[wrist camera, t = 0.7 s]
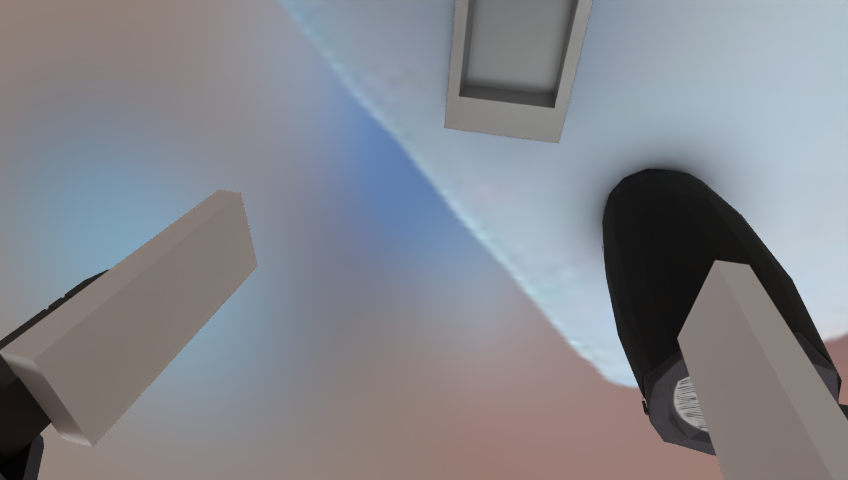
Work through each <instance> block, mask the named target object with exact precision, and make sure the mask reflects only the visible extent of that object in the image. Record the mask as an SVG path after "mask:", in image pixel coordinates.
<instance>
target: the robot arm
mask: <svg viewBox="0 0 848 480" xmlns="http://www.w3.org/2000/svg"><path fill="white" fill-rule="evenodd" d="M257 266H258V265H257V260H256V256H255V252H254V247H253V243H252V238H251V234H250V230H249V225H248V221H247V217H246V212H245V208H244V204H243V199H242V195H241V193H237V192H230V191H223V190H217V191H216V192H215V193H213V194H212V195H211V196H209V197H208V198H207V199H205V200H204V201H203V202H201V203H200V204H199V205H197V206H196V207H194V208H193V209H192V210H190V211H189V212H188V213H186V214H185V215H184V216H182V217H181V218H179V219H178V220H177V221H175V222H174V223H173V224H171V225H170V226H169V227H167V228H166V229H164V230H163V231H162V232H160V233H159V234H158V235H156V236H155V237H154V238H152V239H151V240H149V241H148V242H147V243H146V244H144V245H143V246H141V247H140V248H139V249H137V250H136V251H135V252H133V253H132V254H130V255H129V256H128V257H126V258H125V259H124V260H122V261H121V262H120V263H118V264H117V265H115V266H114V267H113V268H111V269H110V270H106V271H104V272H102V273H99V274H97V275H95V276H93V277H91V278H89V279H86V280H84V281H83V282H81V283H80V284H79V285H77V286H76V287H75V288H73V289H72V290H70V291H69V292H68V293H66V294H65V297H64V298H59V299H58V300H57V301H55V302H54V303H52V304H51V305H50V306H49V308H48V309H47V310H46V309H44V310H42V311H41V312H40V313H38V314H37V315H36V316H34V317H33V318H31V319H30V320H29V321H27V322H26V323H24V324H23V325H22V326H20V327H19V328H17V329H16V330H15V331H13V332H12V333H10V334H9V335H8V336H6V337H5V338H4V339H2V340H1V341H0V480H37V477H38V473H39V468H40V463H41V458H42V453H43V449H44V443H43V437H42V436H41V435H40V433H41V432H42V431H43V430H44V429H45V428H46V427H47V426H48V425H49V424H50V423H52V425H53V426H54V427H55V429H56V430H57V431H58V433H59V434H60V435H61V437H62V438H63V439H64V440H68V441H72V442H75V443H79V444H83V445H87V446H90V447H94V446H95V444H96V443H97V442H98V441H99V440H100V439H101V438H102V437H103V436H104V435H105V433H106V432H107V431H108V430H109V429H110V428H111V427H112V426H113V425H114V424H115V423H116V421H117V420H118V419H119V418H120V417H121V416H122V415H123V414H124V413H125V411H126V410H127V409H128V408H129V407H130V406H131V405H132V404H133V403H134V402H135V400H136V399H137V398H138V397H139V396H140V395H141V394H142V393H143V392H144V391H145V390H146V388H147V387H148V386H149V385H150V384H151V383H152V382H153V381H154V380H155V378H156V377H157V376H158V375H159V374H160V373H161V372H162V371H163V370H164V369H165V368H166V366H167V365H168V364H169V363H170V362H171V361H172V360H173V359H174V358H175V357H176V355H177V354H178V353H179V352H180V351H181V350H182V349H183V348H184V347H185V346H186V344H187V343H188V342H189V341H190V340H191V339H192V338H193V337H194V336H195V334H196V333H197V332H198V331H199V330H200V329H201V328H202V327H203V326H204V325H205V323H206V322H207V321H208V320H209V319H210V318H211V317H212V316H213V315H214V314H215V313H216V311H217V310H218V309H219V308H220V307H221V306H222V305H223V304H224V303H225V301H226V300H227V299H228V298H229V297H230V296H231V295H232V294H233V293H234V292H235V291H236V289H237V288H238V287H239V286H240V285H241V284H242V283H243V282H244V281H245V280H246V278H247V277H248V276H249V275H250V274H251V273H252V272H253V271H254V270H255V269H256V268H257ZM677 339H678V342H679V345H680V348H681V351H682V354H683V357H684V360H685V363H686V366H687V369H688V372H689V375H690V378H691V381H692V384H693V387H694V390H695V393H696V396H697V399H698V402H699V405H700V408H701V411H702V414H703V417H704V420H705V423H706V426H707V429H708V432H709V435H710V438H711V441H712V444H713V447H714V450H715V453H716V456H717V459H718V462H719V465H720V468H721V471H722V474H723V477H724V480H848V406H847V405H842V404H837V403H836V401H835V399H834V398H833V396H832V395H831V393H830V392H829V390H828V388H827V387H826V385H825V384H824V382H823V381H822V379H821V377H820V376H819V374H818V373H817V371H816V370H815V368H814V366H813V365H812V363H811V362H810V360H809V359H808V357H807V355H806V354H805V352H804V351H803V349H802V348H801V346H800V344H799V343H798V341H797V340H796V338H795V336H794V335H793V333H792V332H791V330H790V329H789V327H788V325H787V324H786V322H785V321H784V319H783V318H782V316H781V314H780V313H779V311H778V310H777V308H776V307H775V305H774V303H773V302H772V300H771V299H770V297H769V296H768V294H767V292H766V291H765V289H764V288H763V286H762V285H761V283H760V281H759V280H758V278H757V277H756V275H755V274H754V272H753V270H752V269H751V267H750V266H749V265H746V264H739V263H732V262H725V261H718V260H715V262H714V264H713V266H712V268H711V270H710V272H709V274H708V276H707V278H706V280H705V282H704V284H703V286H702V288H701V290H700V293H699V295H698V297H697V299H696V301H695V303H694V305H693V307H692V309H691V311H690V313H689V315H688V317H687V319H686V321H685V323H684V325H683V328H682V330H681V332H680V334H679V336H678V338H677Z"/></svg>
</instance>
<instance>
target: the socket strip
mask: <svg viewBox="0 0 848 480" xmlns="http://www.w3.org/2000/svg"><path fill="white" fill-rule="evenodd" d="M592 3H593V0H456V2H455V13H454V25H453V36H452V47H451V58H450V69H449V81H448V92H447V103H446V114H445V125H444V128H449V129H456V130H464V131H471V132H478V133H486V134H493V135H500V136H508V137H515V138H522V139H530V140H537V141H544V142H552V143H559V141H560V137H561V132H562V128H563V124H564V120H565V116H566V112H567V107H568V103H569V99H570V95H571V91H572V86H573V82H574V78H575V74H576V70H577V65H578V61H579V57H580V53H581V49H582V45H583V40H584V36H585V32H586V28H587V24H588V19H589V15H590V11H591V7H592Z"/></svg>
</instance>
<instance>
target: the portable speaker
mask: <svg viewBox="0 0 848 480" xmlns="http://www.w3.org/2000/svg"><path fill="white" fill-rule="evenodd" d="M602 224H603V244H604V255H603V256H604V261H605V272H606V279H607V283H608V288H609V293H610V298H611V303H612V308H613V312H614V317H615V322H616V327H617V332H618V336H619V338H620V341H621V344H622V346H623V349H624V351H625V354H626V357H627V359H628V361H629V364H630V366H631V369H632V371H633V374H634V376H635V378H636V381H637V383H638V386H639V388H640V390H641V393H642V395H643V396H644V398H645V399H646V403H647V407H646V404H645V401H642V404H643V408H644V412H645V414H646V415H649V419H650V422H651V424H652V425H653V427H654V428H655V429H656V431H657V432H658V434H659V435H660V436H661V438H662V439H663V441H664V442H668V443H673V444H677V445H680V446H684V447H687V448H690V449H694V450H697V451H700V452H704V453H707V454H711V455H715V456H716V453H715V450H714V447H713V444H712V441H711V438H710V435H709V432H708V429H707V426H706V423H705V420H704V417H703V414H702V411H701V408H700V405H699V402H698V399H697V396H696V393H695V390H694V387H693V384H692V381H691V378H690V375H689V372H688V369H687V366H686V363H685V360H684V357H683V354H682V351H681V348H680V345H679V342H678V339H677V338H678V336H679V334H680V332H681V330H682V328H683V325H684V323H685V321H686V319H687V317H688V315H689V313H690V311H691V309H692V307H693V305H694V303H695V301H696V299H697V297H698V295H699V293H700V290H701V288H702V286H703V284H704V282H705V280H706V278H707V276H708V274H709V272H710V270H711V268H712V266H713V264H714V262H715V260H718V261H725V262H732V263H739V264H746V265H749V266H750V267H751V269H752V270H753V272H754V274H755V275H756V277H757V278H758V280H759V281H760V283H761V285H762V286H763V288H764V289H765V291H766V292H767V294H768V296H769V297H770V299H771V300H772V302H773V303H774V305H775V307H776V308H777V310H778V311H779V313H780V314H781V316H782V318H783V319H784V321H785V322H786V324H787V325H788V327H789V329H790V330H791V332H792V333H793V335H794V336H795V338H796V340H797V341H798V343H799V344H800V346H801V348H802V349H803V351H804V352H805V354H806V355H807V357H808V359H809V360H810V362H811V363H812V365H813V366H814V368H815V370H816V371H817V373H818V374H819V376H820V377H821V379H822V381H823V382H824V384H825V385H826V387H827V388H828V390H829V392H830V393H831V395H832V396H833V398H834V399H835V401H836V403H837V404H839V401H838V398H839V392H840V387H841V381H842V380H841V379H840V376H839V374H838V372H837V370H836V368H835V366H834V364H833V362H832V360H831V358H830V356H829V354H828V352H827V350H826V348H825V346H824V343H823V341H822V339H821V337H820V335H819V333H818V331H817V329H816V327H815V325H814V323H813V321H812V319H811V317H810V315H809V313H808V311H807V309H806V307H805V305H804V303H803V301H802V299H801V297H800V295H799V293H798V291H797V289H796V287H795V284H794V282H793V280H792V279H791V278H790V276H789V275H788V274H787V272H786V271H785V270H784V269H783V267H782V266H781V265H780V263H779V262H778V261H777V260H776V258H775V257H774V256H773V255H772V253H771V252H770V251H769V249H768V248H767V247H766V246H765V244H764V243H763V242H762V241H761V239H760V238H759V237H758V235H757V234H756V233H755V232H754V230H753V229H752V228H751V227H750V225H749V224H748V223H747V221H746V220H745V219H744V218H743V216H742V215H741V214H739V213H738V212H737V211H736V210H735V209H734V208H733V207H731V206H730V205H729V204H728V203H727V202H726V201H724V200H723V199H722V198H721V197H720V196H719V195H718V194H716V193H715V192H714V191H713V190H712V189H711V188H709V187H708V186H707V185H706V184H705V183H704V182H703V181H701V180H699V179H697V178H695V177H694V176H692V175H690V174H686V173H680V172H675V171H669V170H668V171H666V170H656V169H645V170H643V171H641V172H638V173H636V174H633V175H631V176H628V177H626V178H624V179H623V180H622V181H621V182H620V183H619V185H618V186H617V187H616V188H615V189H614V190H613V191H612V192H611V193H610V195H609V199H608V203H607V207H606V208H605V212H604V217H603V222H602ZM602 249H603V246H602Z"/></svg>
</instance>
